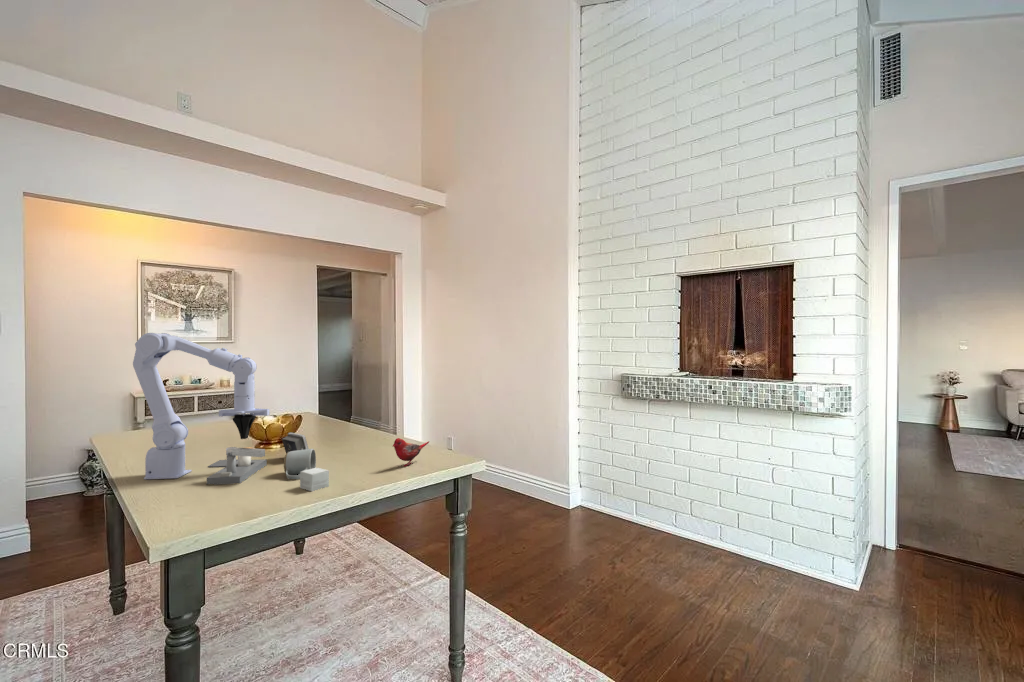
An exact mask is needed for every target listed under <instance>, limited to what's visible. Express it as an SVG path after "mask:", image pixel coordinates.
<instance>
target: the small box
mask: <svg viewBox="0 0 1024 682" xmlns="http://www.w3.org/2000/svg"><path fill="white" fill-rule="evenodd" d="M299 480H300V481H299V484H300V485H299V489H302V490H305V489H306V491H309V492H315V490H316V491H319V490H322V489H325V487H326V488H328V487H330V469H329V470H328V469H325V468H320V467H315V468H312V469H309V470H304V471H301V472H300V479H299ZM321 488H322V489H321ZM318 489H319V490H318Z"/></svg>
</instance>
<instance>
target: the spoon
mask: <svg viewBox="0 0 1024 682" xmlns="http://www.w3.org/2000/svg"><path fill="white" fill-rule="evenodd" d="M225 451H226V452H225V453H226V454H225V455H226V457H227V456H231V455H235V456H236V457H238V456H250V457H251V458H262V457H265V456H266V449H265V448H254V447H252V448H244V447H237V446H230V447H226V448H225Z"/></svg>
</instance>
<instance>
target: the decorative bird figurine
mask: <svg viewBox="0 0 1024 682" xmlns="http://www.w3.org/2000/svg"><path fill="white" fill-rule="evenodd" d="M429 443H430V441H426V442H424V443H423V444H420V445H419V444H417V443H411V442H406V441H405V439H403V438H399V437H397V438H396V439H395V440H394V441H393V445H391V446H392V447H393V448H394V451H395V454H396V456H397V458H399V460H401V461H403V462H407V463H405V464H404V465H402V467H408V466H411V465H412V464H413V460H414V459H415V458H416V457H417V456H418V455H419V454H420V453H421V450H422V449H423V448H424V447H425V446H427V445H428V444H429ZM410 464H411V465H410Z"/></svg>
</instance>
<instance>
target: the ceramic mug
mask: <svg viewBox="0 0 1024 682" xmlns="http://www.w3.org/2000/svg"><path fill="white" fill-rule="evenodd" d="M316 466H317V455H316V450H315V449H314V448H309V449H305V450H296V451H290V452H288V453H287V454H286V453H285V455H284V459H283V470H284V473H285V475H286V478H287V480H290V479H297V480H300V472H301V471H304V470H309V469H312V468H317V467H316ZM297 474H298V475H297Z"/></svg>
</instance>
